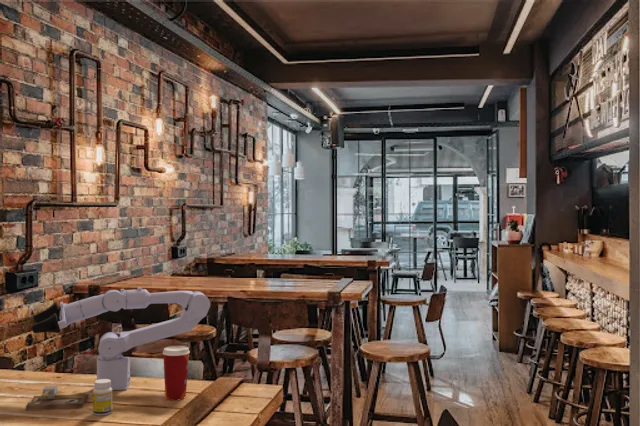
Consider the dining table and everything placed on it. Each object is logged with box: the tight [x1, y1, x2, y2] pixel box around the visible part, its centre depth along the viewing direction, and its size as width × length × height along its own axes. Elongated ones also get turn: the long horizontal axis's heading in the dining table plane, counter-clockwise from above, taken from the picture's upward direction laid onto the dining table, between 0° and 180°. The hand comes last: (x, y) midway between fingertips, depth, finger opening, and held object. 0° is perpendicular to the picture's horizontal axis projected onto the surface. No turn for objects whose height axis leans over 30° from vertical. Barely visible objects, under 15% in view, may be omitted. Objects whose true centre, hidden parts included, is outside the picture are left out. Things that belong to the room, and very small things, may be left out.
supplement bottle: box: [92, 379, 113, 417], centre depth 160 cm, size 5×5×8 cm
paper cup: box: [161, 345, 191, 401], centre depth 175 cm, size 8×8×14 cm
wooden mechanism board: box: [25, 392, 90, 411], centre depth 168 cm, size 14×9×2 cm, turn 100°
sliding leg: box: [42, 385, 58, 399], centre depth 167 cm, size 3×7×3 cm, turn 10°
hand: (33, 324), depth 178 cm, fingers open, 7 cm apart
